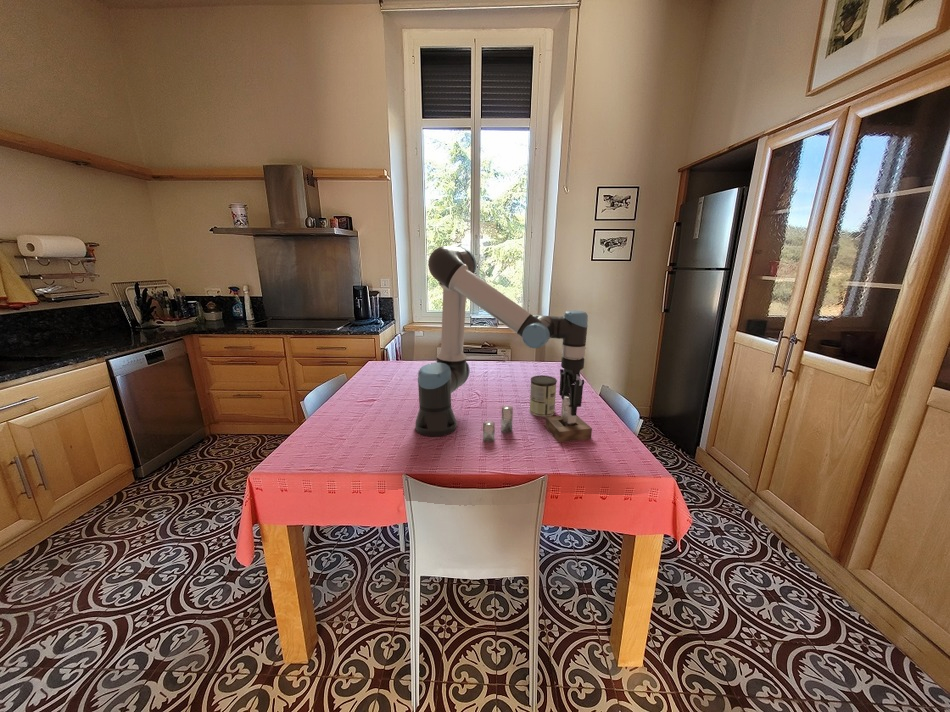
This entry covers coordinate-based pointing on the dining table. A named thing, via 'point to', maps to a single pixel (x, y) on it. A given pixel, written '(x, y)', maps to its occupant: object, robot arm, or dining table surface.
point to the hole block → (568, 429)
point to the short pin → (488, 431)
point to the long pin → (566, 411)
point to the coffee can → (542, 396)
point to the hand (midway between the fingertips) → (568, 419)
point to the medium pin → (506, 419)
